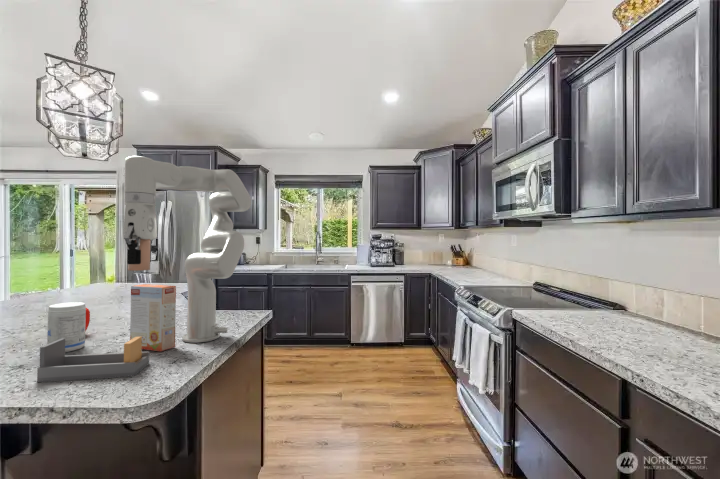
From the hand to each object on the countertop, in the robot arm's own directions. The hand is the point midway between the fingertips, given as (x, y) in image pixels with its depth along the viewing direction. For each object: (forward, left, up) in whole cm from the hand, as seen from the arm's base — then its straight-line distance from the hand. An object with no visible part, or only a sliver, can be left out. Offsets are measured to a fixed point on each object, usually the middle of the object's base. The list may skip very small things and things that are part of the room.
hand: (139, 262), depth 98 cm
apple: (+37, -38, -30) cm, 60 cm away
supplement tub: (+30, -21, -30) cm, 47 cm away
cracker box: (+3, -18, -30) cm, 35 cm away
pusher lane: (+9, +3, -29) cm, 31 cm away
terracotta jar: (0, 0, -2) cm, 2 cm away
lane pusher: (0, +3, -28) cm, 28 cm away
